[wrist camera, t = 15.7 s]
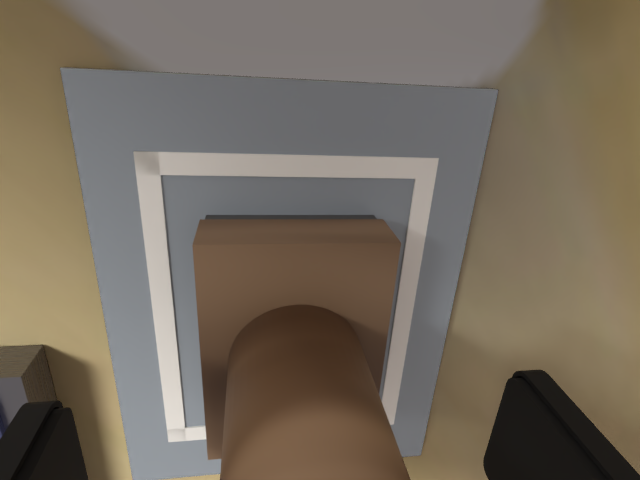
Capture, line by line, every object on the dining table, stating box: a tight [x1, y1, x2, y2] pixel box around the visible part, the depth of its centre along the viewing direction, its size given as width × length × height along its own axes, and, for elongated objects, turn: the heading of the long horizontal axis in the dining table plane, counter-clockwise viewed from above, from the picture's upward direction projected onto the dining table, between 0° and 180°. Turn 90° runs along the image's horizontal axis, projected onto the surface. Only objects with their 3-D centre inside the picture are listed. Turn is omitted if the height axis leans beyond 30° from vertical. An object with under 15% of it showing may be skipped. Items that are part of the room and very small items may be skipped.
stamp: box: [192, 215, 410, 480], centre depth 9 cm, size 7×5×11 cm
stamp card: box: [60, 67, 498, 480], centre depth 14 cm, size 14×11×1 cm
